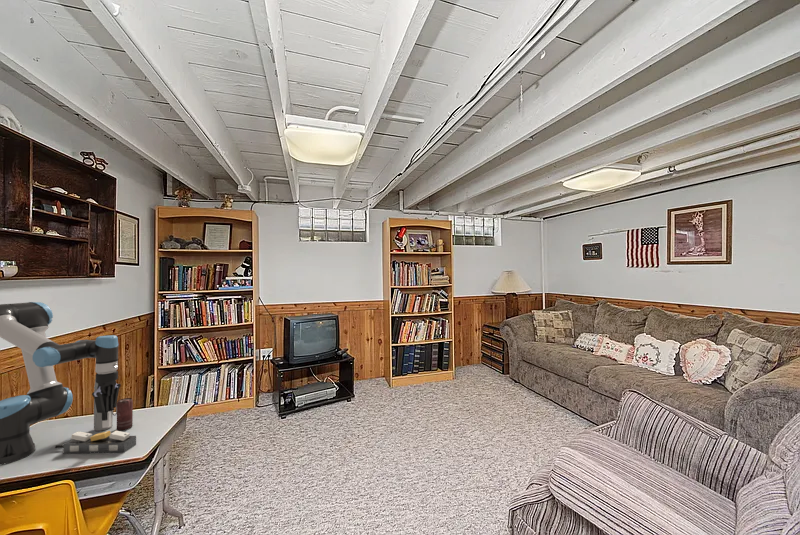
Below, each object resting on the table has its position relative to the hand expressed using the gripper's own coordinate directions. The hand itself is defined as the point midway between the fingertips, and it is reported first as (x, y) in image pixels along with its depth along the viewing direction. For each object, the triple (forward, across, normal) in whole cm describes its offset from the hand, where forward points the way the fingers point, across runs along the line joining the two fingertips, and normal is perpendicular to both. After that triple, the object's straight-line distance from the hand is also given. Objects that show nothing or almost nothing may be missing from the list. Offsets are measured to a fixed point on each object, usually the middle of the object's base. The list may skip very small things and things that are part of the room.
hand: (106, 426), depth 153 cm
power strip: (+10, 0, +6) cm, 11 cm away
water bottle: (+10, +22, +18) cm, 30 cm away
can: (+10, +21, +8) cm, 24 cm away
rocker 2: (+4, 0, -5) cm, 7 cm away
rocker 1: (+4, 0, +11) cm, 11 cm away
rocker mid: (+4, 0, +3) cm, 5 cm away
